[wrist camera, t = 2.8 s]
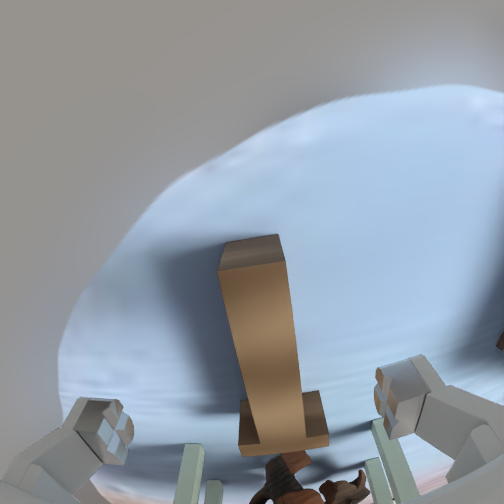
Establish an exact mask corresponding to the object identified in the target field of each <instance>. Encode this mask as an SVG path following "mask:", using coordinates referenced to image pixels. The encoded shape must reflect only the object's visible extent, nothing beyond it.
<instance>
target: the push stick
mask: <svg viewBox="0 0 504 504" xmlns="http://www.w3.org/2000/svg"><path fill="white" fill-rule="evenodd" d="M217 274H218V278H219V283H220V287H221V291H222V296H223V300H224V304H225V308H226V313H227V317H228V321H229V325H230V329H231V333H232V338H233V342H234V346H235V350H236V354H237V358H238V362H239V365H240V369H241V373H242V377H243V381H244V385H245V389H246V392H247V396H248V400H247V401H241V404H240V422H239V440H238V446H239V449H240V452H241V454H242V457H246V456H259V455H270V454H279V453H287V452H295V451H302V450H308V449H314V448H320V447H325V446H329V432H328V428H327V423H326V419H325V415H324V410H323V406H322V402H321V397H320V393H319V390H318V391H312V392H306V393H302V390H301V381H300V372H299V363H298V354H297V346H296V337H295V329H294V321H293V313H292V305H291V298H290V290H289V283H288V275H287V268H286V261H285V257H284V254H283V250H282V246H281V242H280V239H279V235H278V234H275V235H268V236H262V237H256V238H250V239H243V240H237V241H231V242H226V244H225V247H224V250H223V254H222V257H221V260H220V263H219V266H218V270H217Z"/></svg>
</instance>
